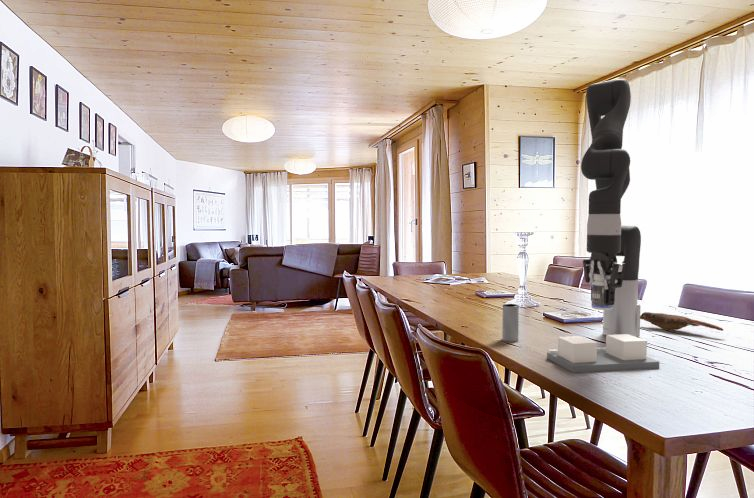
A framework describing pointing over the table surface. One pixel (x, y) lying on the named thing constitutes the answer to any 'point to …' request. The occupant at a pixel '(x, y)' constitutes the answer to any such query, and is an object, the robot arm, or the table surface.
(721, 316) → the table surface
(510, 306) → the planter
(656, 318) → the bird sculpture
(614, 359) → the rail board
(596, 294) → the pill bottle
